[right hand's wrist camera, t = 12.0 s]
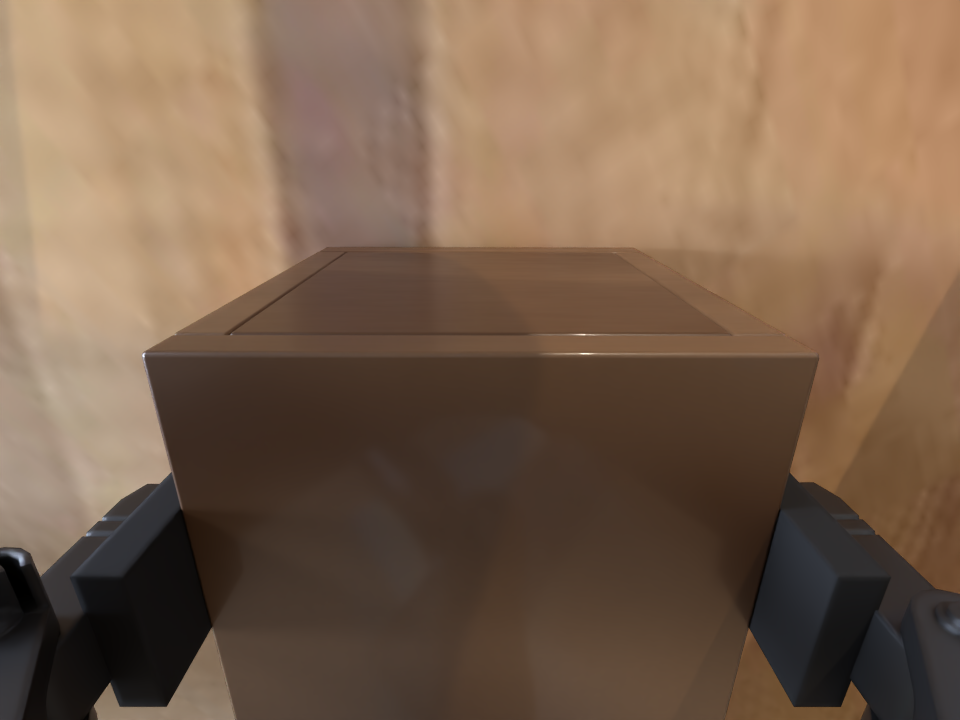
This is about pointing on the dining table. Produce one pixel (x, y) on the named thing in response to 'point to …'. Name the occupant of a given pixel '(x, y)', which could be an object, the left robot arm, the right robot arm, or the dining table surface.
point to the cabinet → (480, 483)
